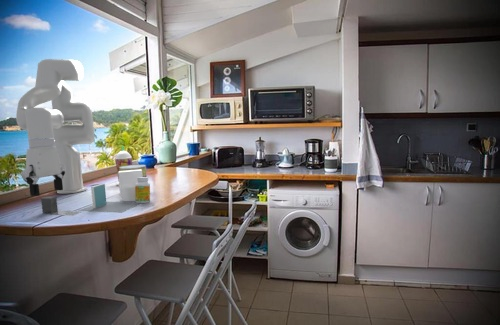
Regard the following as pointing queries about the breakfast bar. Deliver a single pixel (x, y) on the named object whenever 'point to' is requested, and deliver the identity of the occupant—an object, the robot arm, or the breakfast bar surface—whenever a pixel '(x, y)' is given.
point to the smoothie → (122, 160)
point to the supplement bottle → (142, 190)
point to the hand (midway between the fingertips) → (47, 192)
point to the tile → (98, 195)
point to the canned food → (134, 168)
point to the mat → (112, 207)
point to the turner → (54, 207)
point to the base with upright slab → (128, 184)
